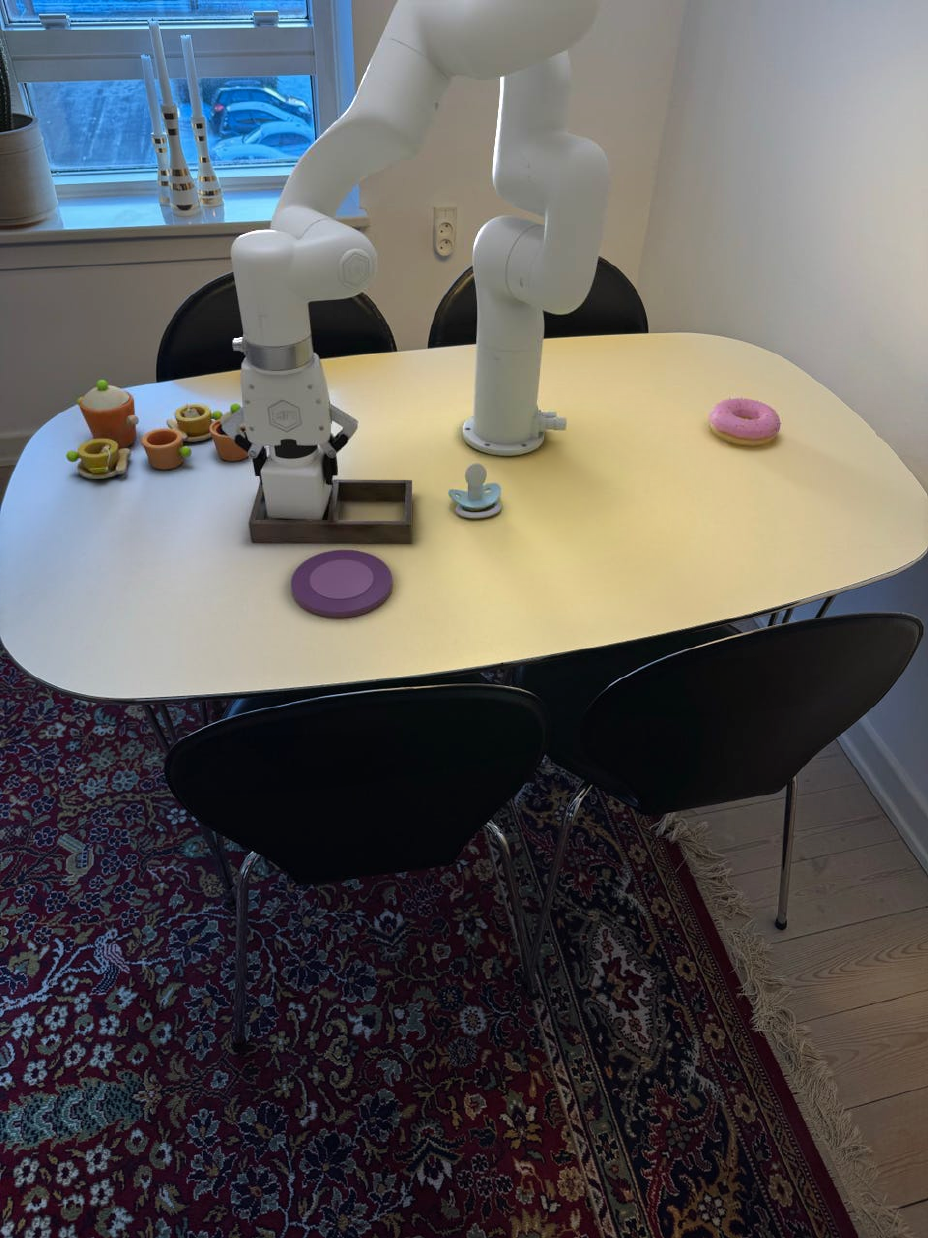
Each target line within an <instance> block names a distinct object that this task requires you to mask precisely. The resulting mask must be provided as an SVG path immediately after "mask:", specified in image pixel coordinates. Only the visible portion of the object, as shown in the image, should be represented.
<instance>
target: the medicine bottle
mask: <svg viewBox="0 0 928 1238" xmlns="http://www.w3.org/2000/svg"><path fill="white" fill-rule="evenodd" d="M280 442H281V445H276V446H268V452H269V454H267V459H266V461H265V463H264V465H263V467H262V469H261V478H262V484H263V490H264V496H265V502H266V514H267V517H268V518H271V519H272V518H273V519H284V520H317V521H323V517H324V515H325V513H326V509H327V507H328V504H329V503H330V501H329V499H330V497H331V494H332V485H328V484H326V479H325V471H324V462H323V458H324V451H323V450H322V448H321V447H320V446H319V445H307V446H304V445H297V442H296V440H293V439H283V440H280Z"/></svg>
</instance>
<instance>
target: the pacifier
mask: <svg viewBox="0 0 928 1238" xmlns="http://www.w3.org/2000/svg"><path fill="white" fill-rule="evenodd" d="M487 477H488V472H487V469H486V467H485V466H484V465H483V464H481V463H479V462H473V463H471V464H469V465H468V466H467V467H466V469H465V472H464V479H465V482H466V484H467V490H462V489H456V488H455V489H454V488H451V489H448V493H447V494H448V496H449V497H450V498H451V499H452V501H454V502H455V503H456V504H458V505H456V507H455V512H456V514H457V515H459V516H460V517H462V518H466V519H484V518H485V519H486V518H489V517H492V516H495V515H496V514H498V513H499V512H501V510H502V508H503V505H502V504H501V502H499V501H498V500H499V499H500V497H501V494H502V487H501V484H499V483H496V482H491V483H486V484H485V482H486V480H487ZM487 491H489V492H487ZM490 506H493V508H490V509H489V510H485V509H486V508H488V507H490ZM481 510H482V511H481ZM483 510H485V511H483ZM476 511H478V512H476ZM479 511H480V512H479Z"/></svg>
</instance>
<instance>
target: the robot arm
mask: <svg viewBox="0 0 928 1238" xmlns="http://www.w3.org/2000/svg"><path fill="white" fill-rule="evenodd" d="M601 1H602V0H397V1H396V3H395V5H394V8H393V9H392V12H391V14H390V16H389V19H388V21H387V23H386V25H385V28H384V30H383V32H382V35H381V36H380V39H379V41H378V44H377V46H376V48H375V50H374V52H373V55H372V57H371V59H370V61H369V63H368V66H367V68H366V71H365V73H364V75H363V77H362V79H361V81H360V84H359V87H358V89H357V92H356V94H355V95H354V98H353V100H352V102H351V104H350V106H349V107H348V109H347V110H346V111H345V112H344V113H343V115H341V116H340V117H339V118H338V119H336V120H335V121H334V122H333V123H332V124H331V125H330V126H329V127H328V128H327V129H326V130H325V131H324V132H323V133H321V135H320V136H319V137H318V138H317V139H316V140H315V141H314V142H313V144H311V145H310V146H309V147H308V148H307V150H305V152H304V153H303V154H302V155H301V157H299V160H298V161H297V162H296V163H295V165H294V167H293V169H292V170H291V172H290V174H289V176H288V178H287V181H286V183H285V185H284V187H283V190H282V192H281V194H280V196H279V199H278V201H277V204H276V206H275V208H274V211H273V214H272V217H271V222H270V225H269V229H263V230H262V229H261V230H255V231H250V232H246V233H244V234H242V235H239V236H238V237H237V238H236V239H235V240H234V241H233V242H232V245H231V248H230V259H231V267H232V272H233V278H234V283H235V289H236V295H237V301H238V309H239V313H240V320H241V325H242V326H241V327H242V333H243V335H242V337H238V338H233V339H232V349H233V352H240V353H243V355H244V356H245V357H244V359H243V361H241V365H240V366H241V367H240V389H241V403H242V404H241V405H242V406H240V407H241V408H240V409H239V410H237V411H236V412H235V413H233V414H232V415H231V416H229V417H228V418H227V419H225V420H224V422H223V424H222V430H223V431H224V432H225V433H226V434H227V435H228V436H229V437H230V438H232V439H233V440H234V442H235V443H236V444H237V445H238V446H239V447H241V448H242V449H243V450H245V451H246V452H247V453H248V456H247V457H249V458H250V459H251V460H252V466H253V472H254V476H255V477H259V484H260V483H261V486H263V484H262V478H261V469H262V467H263V465H264V463H265V461H266V459H267V457H268V453H267V448H265V446H267V447H269V446H276V445H281V442H280V440H283V439H293V440H296V442H297V445H304V446H307V445H319V446H320V447H321V448H322V450H323V451H324V458H323V462H324V471H325V479H326V484H328V485H332V481H333V479H334V477H337V476H338V474H339V466H338V456H337V454H338V453H340V451H341V450H342V449H343V448H344V447H345V446H347V444H348V443H349V440H350V439H351V438H352V437H353V435H354V434H355V433H356V432H357V430H358V428H359V421H358V420H357V419H356V418H354V417H353V416H351V415H349V414H348V413H346V412H345V411H343V410H342V409H340V408H338V407H337V406H335V405H333V404H332V403H331V399H330V393H329V389H328V384H327V379H326V376H325V371H324V368H323V365H322V362H321V359H320V357H319V354H317V353H316V352H314V346H313V337H312V330H311V329H312V328H311V319H310V309H309V303H311V302H319V301H334V300H335V301H336V300H344V299H349V298H352V297H355V296H357V295H360V294H362V293H363V292H364V291H366V290H367V289H368V288H369V287H370V286H371V284H372V283H373V282H374V280H375V278H376V276H377V272H378V266H379V260H378V254H377V251H376V249H375V247H374V244H373V243H372V242H371V241H370V239H369V238H368V237H367V236H366V235H364V233H362V232H361V231H359V230H357V228H353V227H351V226H349V225H347V224H345V223H343V222H340V221H338V220H337V219H335V217H336V214H337V212H338V210H339V209H340V207H341V205H342V204H343V202H344V200H345V199H346V197H347V196H348V195H349V193H351V191H352V190H353V189H354V188H355V187H356V186H357V185H358V184H360V182H362V181H363V180H365V179H366V178H368V177H370V176H371V175H373V174H375V173H377V172H380V171H382V170H386V169H388V168H392V167H394V166H397V165H399V164H402V163H404V162H406V161H409V160H411V159H413V158H415V157H416V156H417V155H419V153H420V152H421V150H422V149H423V147H424V145H425V143H426V140H427V138H428V135H429V133H430V131H431V129H432V128H433V124H434V122H435V121H436V118H437V116H438V114H439V112H440V109H441V107H442V105H443V103H444V101H445V99H446V97H447V94H448V93H449V91H450V88H451V87H452V84H453V83H454V81H455V78H456V77H457V76H462V77H465V78H469V79H473V80H478V81H488V80H489V81H490V80H496V79H500V88H499V89H500V91H499V92H500V93H499V105H498V113H497V114H498V115H497V123H496V134H495V143H494V151H493V162H492V184H493V187H494V188H493V189H494V191H495V193H496V194H497V196H498V197H499V198H500V199H501V200H502V201H503V202H505V203H507V204H508V205H512V206H513V207H516V208H519V209H522V210H524V211H526V212H530V213H531V214H535V215H538V216H540V217H543V218H545V223H544V224H545V225H544V224H542V223H539V222H537V221H534V220H532V219H528V218H525V217H523V216H518V215H511V214H508V215H507V214H506V215H499V216H496V217H493V218H492V219H490V220H488V221H487V222H486V223H484V224H483V226H482V227H481V228H480V229H479V231H478V233H477V235H476V237H475V240H474V243H473V248H472V272H473V279H474V285H475V286H474V287H475V293H476V303H477V304H476V305H477V306H476V307H477V310H476V311H477V321H476V322H477V323H476V342H475V343H476V346H475V368H474V392H473V414H472V415H473V416H470V417H469V418H468V419H467V420H466V421H465V422H464V424H463V426H462V437H463V440H464V441H465V442H466V444H468V445H469V446H470V447H471V448H473V449H475V450H476V451H479V452H481V453H485V454H489V455H494V456H504V457H505V456H506V457H507V456H508V457H510V456H511V457H512V456H520V455H524V454H528V453H531V452H533V451H535V450H536V449H538V448H540V446H541V445H542V444H543V442H544V440H545V433H546V431H566V430H567V417H557V411H542V410H541V409H539V406H538V399H539V397H538V395H539V387H540V376H541V365H542V355H543V345H544V337H545V317H544V312H546V313H550V314H552V315H560V316H561V315H569V314H570V313H572V312H574V311H575V310H577V309H578V308H579V307H581V305H582V304H583V303H584V302H585V300H586V299H587V297H588V295H589V293H590V291H591V288H592V285H593V282H594V280H595V277H596V271H597V266H598V262H599V257H600V251H601V246H602V241H603V235H604V230H605V225H606V219H607V214H608V208H609V203H610V197H611V188H612V174H611V167H610V162H609V159H608V157H607V155H606V152H605V151H604V149H602V146H600V145H599V144H598V143H597V142H596V141H593V140H592V139H590V138H588V137H584V136H581V135H577V134H574V133H570V132H569V129H568V127H569V126H568V124H569V123H568V122H569V121H568V120H569V112H570V102H571V93H572V79H573V77H572V65H571V60H570V55H569V51H568V50H570V49H571V48H573V47H574V46H576V45H577V44H578V43H579V42H581V41H582V40H584V38H585V37H586V36H587V35H588V33H589V31H590V30H591V29H592V27H593V25H594V24H595V21H596V20H597V16H598V14H599V10H600V6H601ZM243 422H244V423H245V430H246V433H245V432H244V431H242V430H240V428H239V427H238V426H239V425H240V424H242V423H243ZM333 422H334V423H335V424H337V425H338V426H341V427H342V429H341V430H340V431H339V432H337V434H336V435H334V434H333V433H332V424H333Z"/></svg>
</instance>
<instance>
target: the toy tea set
mask: <svg viewBox="0 0 928 1238" xmlns="http://www.w3.org/2000/svg"><path fill="white" fill-rule="evenodd" d="M76 402H77V406H79V407H78V408H79V409H80V411H81V414H82V416H83V418H84V421H85V422H86V424H87V426H88V429H89V431H90V433H91V435H92V438H93V439H89V440H87V441H84V442H83V443H81V444H80V445H79V446H78V447H77V451H75V450H69V451H67V453H66V455H65V457H66V459H67V461H69V462H71V463H75V462H77V461H78V460H79V462H78V463H77V471H78V473H79V474H80V475H81V476H82V477H84V478H87V479H92V480H93V479H94V480H101V479H109V478H112V477H116V476H117V475H122V474H123V475H124V474H125V473H126V472H127V467H128V459H130V457H131V455H132V453H131V450H130V449H129V448H128V447H129V446H131V445H132V444H134V443H135V441H137V425H138V424H139V417H138V416H137V414H136V407H135V398H134V397H133V395H132V394H131V392H129V391H127V390H124V389H123V388H120V387H118V386H115V385H111V384H108V382H107V381H106V380H104V379H100V380H98V381H96V387H93V388H92V389H89V390H88V392H87V393H86V394H85V395H84V396H82V397H78V399H77V400H76ZM241 407H242V406H241V405H240V404H239V403H232V404H231V405H230V408H229V409H230V410H228V411H226V412H225V413H224V414H223V412H222V411H220V410H214V411H213V412H212V409H211V408H210V407H209V406H208V405H205V404H201V403H200V404H199V403H193V404H188V403H186V404H185V405H183V406H180V407H178V408H177V409H176V410H175V411H174V413H173V416H174V418H175V419H173V418H167V419H166V420H165V421H166V425H167V427H163V428H156V429H153V430H150V431H148V432H146V433H145V434H144V435H143V436H142V437H141V441H140V445H141V446H142V447H143V449H144V452H145V454H146V456H147V459H148V461H149V463H150V465H151V467H153V468H154V469H157V470H171V469H175V468H177V467H179V466H180V465H182V463H183V462H184V458H190V457H191V455H192V449H191V447H189V446H187V445H185V446H184V442H200V441H205V440H208V439H209V438H212V441H213V443H214V447H215V449H216V452H217V454H218V456H219V458H221V459H222V460H224V461H228V462H237V461H242V460H244V459H246V458H247V457H249V456H248V453H247V452H246V451H245V450H243V449H242V448H241V447H239V446H238V445H237V444H236V443H235V442H234V440H233V439H232V438H230V437H229V436H228V435H227V434H226V433H225V432H224V431H223V430H222V424H223V422H224V420H225V419H227V418H228V417H229V416H231V415H232V414H233V413H235V412H236V411H237V410H239V409H240V408H241ZM238 427H239V428H240V430H242V431H244V432H245V433H246V430H245V423H244V422H243V423H242V424H240V425H239V426H238Z"/></svg>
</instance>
